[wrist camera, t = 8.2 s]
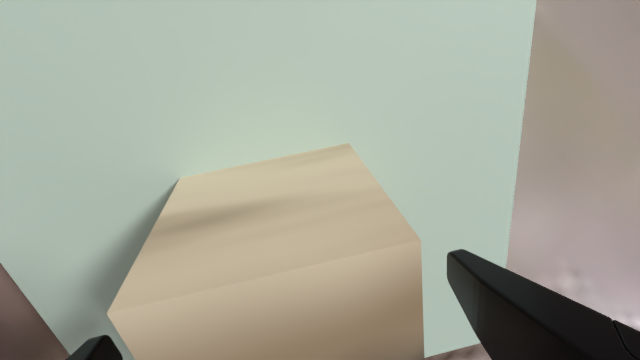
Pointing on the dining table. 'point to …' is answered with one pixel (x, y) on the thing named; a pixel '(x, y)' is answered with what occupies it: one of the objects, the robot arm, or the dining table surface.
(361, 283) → the maple cube
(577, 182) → the dining table surface
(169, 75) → the platform
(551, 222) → the dining table surface
